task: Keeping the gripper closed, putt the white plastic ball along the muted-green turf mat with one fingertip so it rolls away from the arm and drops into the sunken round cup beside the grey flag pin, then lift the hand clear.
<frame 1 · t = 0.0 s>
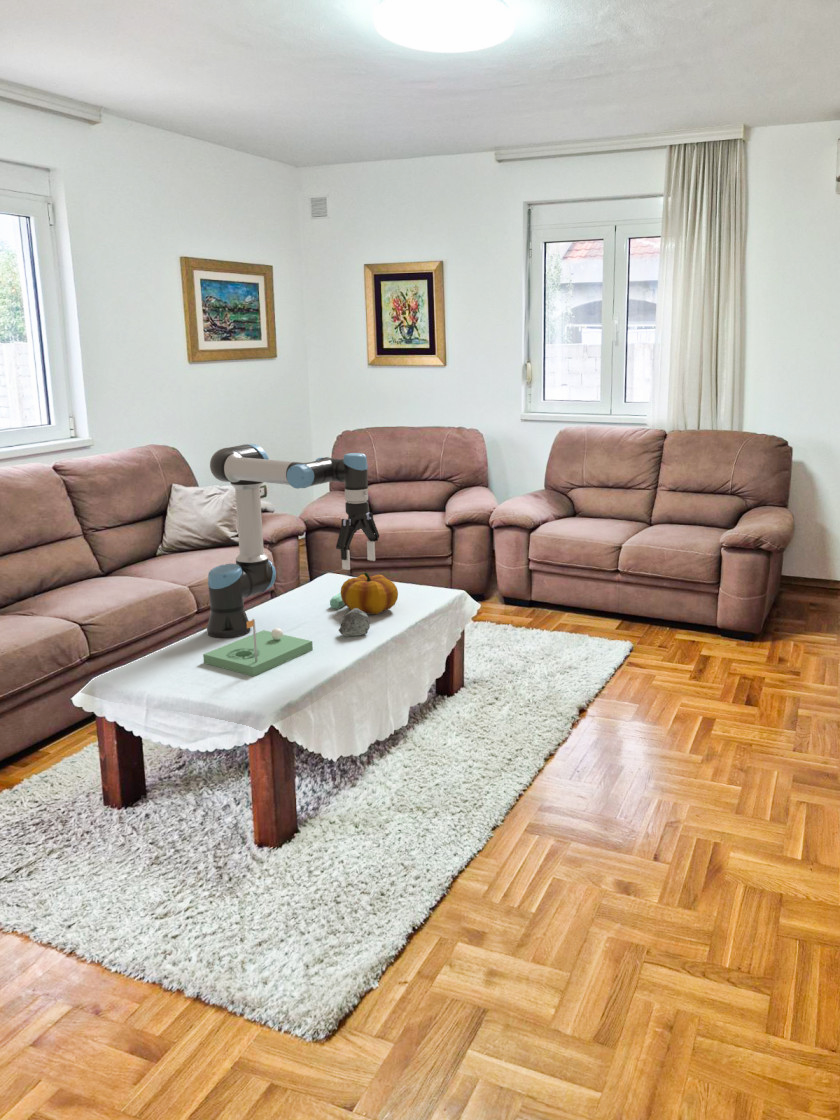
hand: (359, 564, 302), 28 cm above the table, fingers open, 13 cm apart
decorative pumpkin: (369, 610, 347), on the table
ball: (277, 634, 306), point 5 cm above the table, touching green
green: (257, 657, 299), on the table
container: (349, 601, 360), on the table
stone: (356, 633, 321), on the table
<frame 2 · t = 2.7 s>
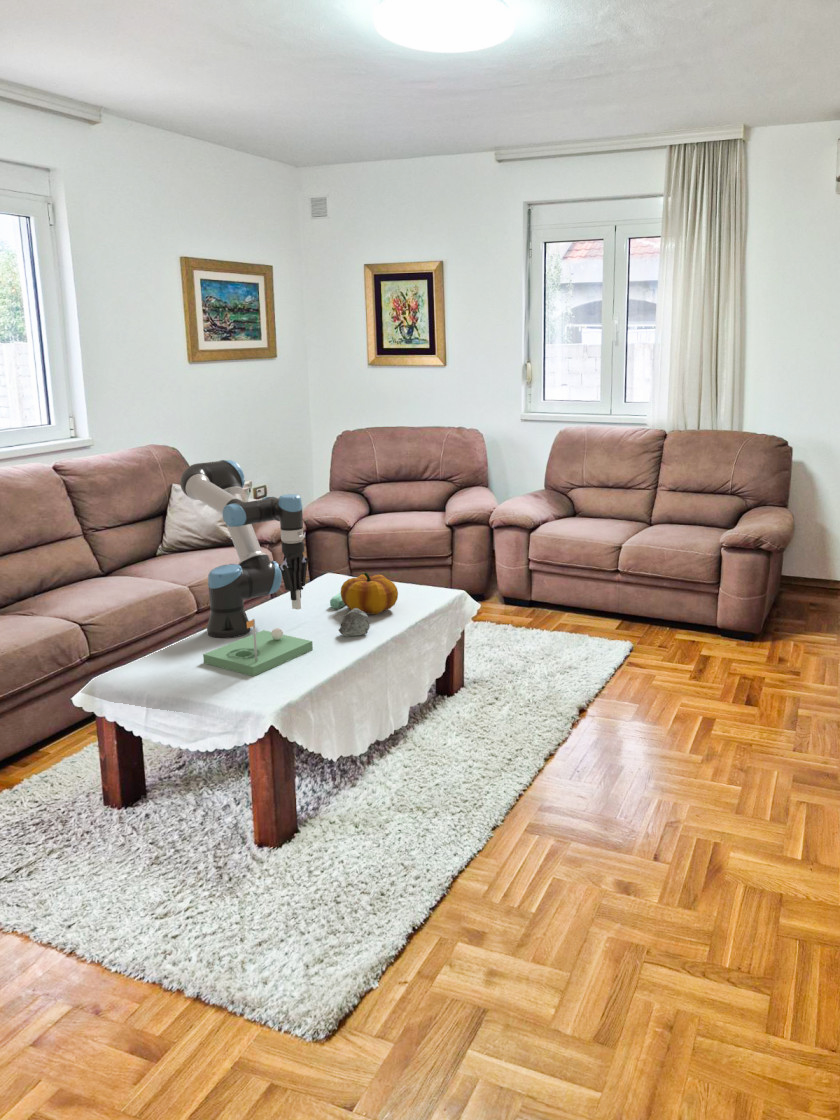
hand: (296, 608, 312), 11 cm above the table, fingers closed
nothing on the table moved.
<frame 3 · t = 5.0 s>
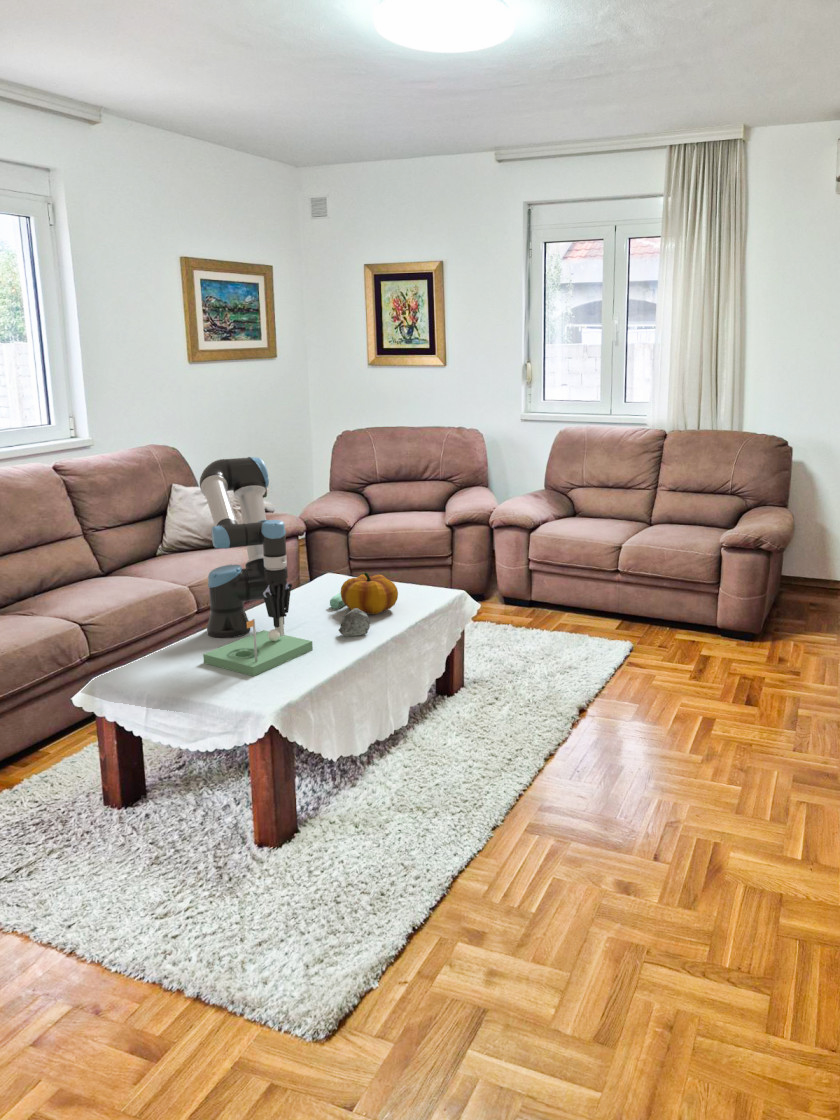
hand: (279, 635, 307), 4 cm above the table, fingers closed
ball: (274, 635, 305), point 5 cm above the table, tilted 40°, touching green, gripper
everything else where it was.
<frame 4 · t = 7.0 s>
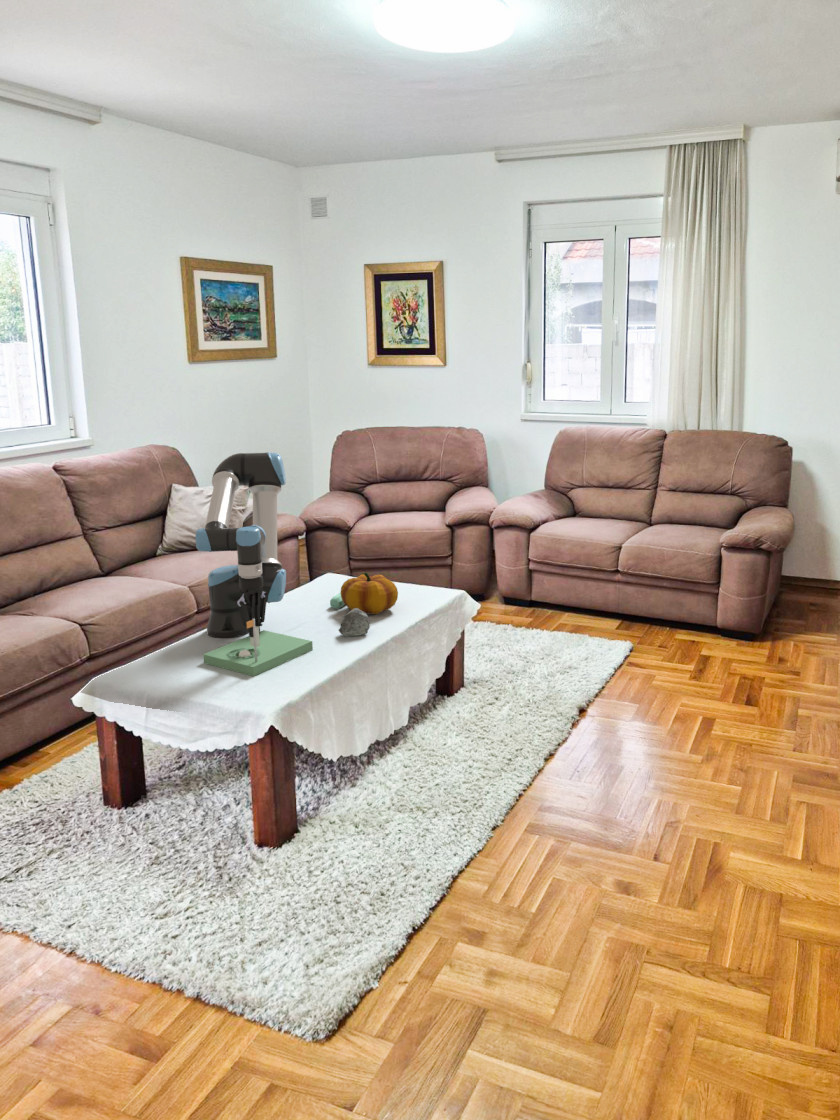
hand: (255, 645, 298), 4 cm above the table, fingers closed
ball: (244, 656, 295), point 2 cm above the table, tilted 93°
everything else where it was.
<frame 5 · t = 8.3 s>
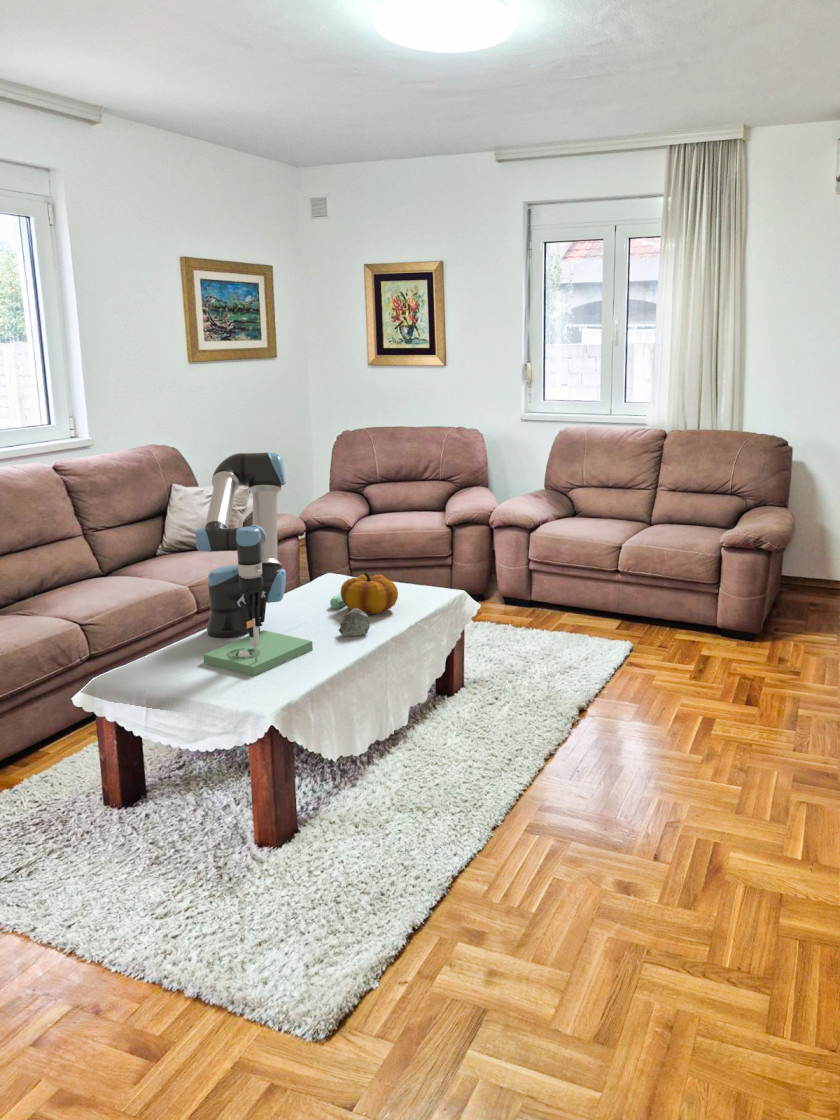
hand: (255, 645, 298), 4 cm above the table, fingers closed
ball: (244, 656, 294), point 2 cm above the table, tilted 101°
everything else where it was.
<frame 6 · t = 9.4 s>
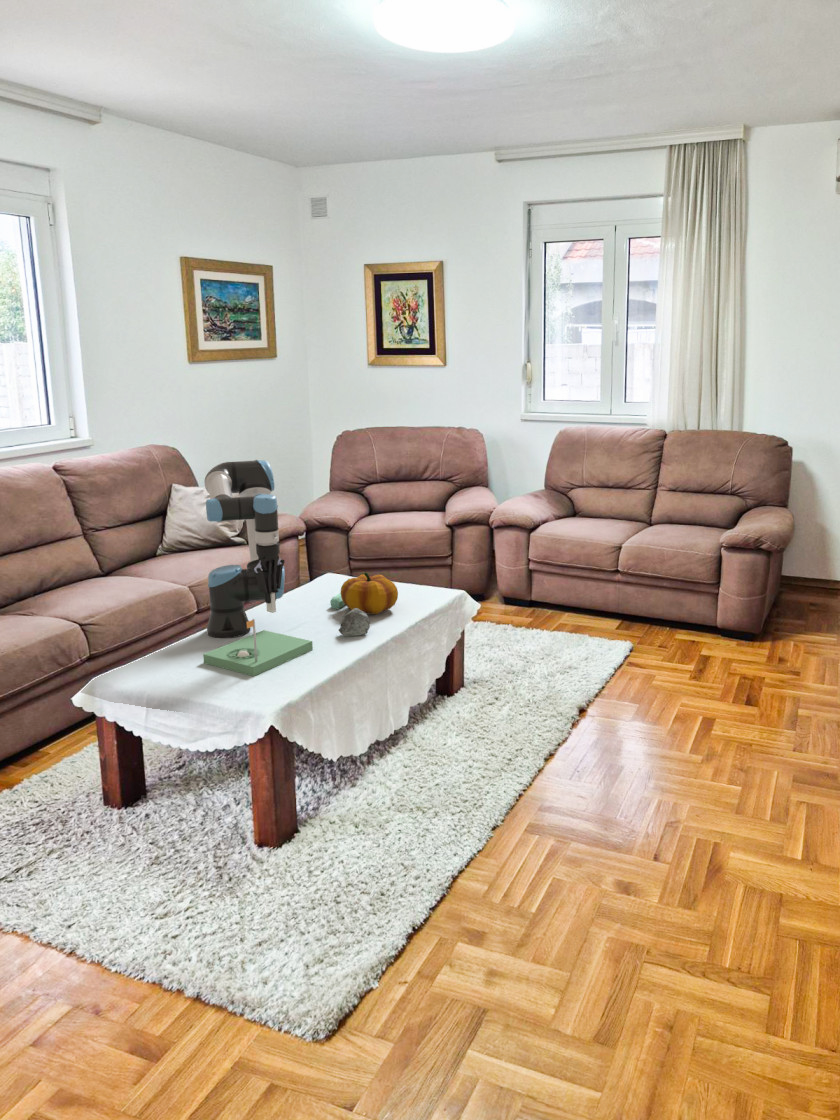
hand: (271, 611, 303), 13 cm above the table, fingers closed
ball: (243, 656, 294), point 2 cm above the table, tilted 108°
everything else where it was.
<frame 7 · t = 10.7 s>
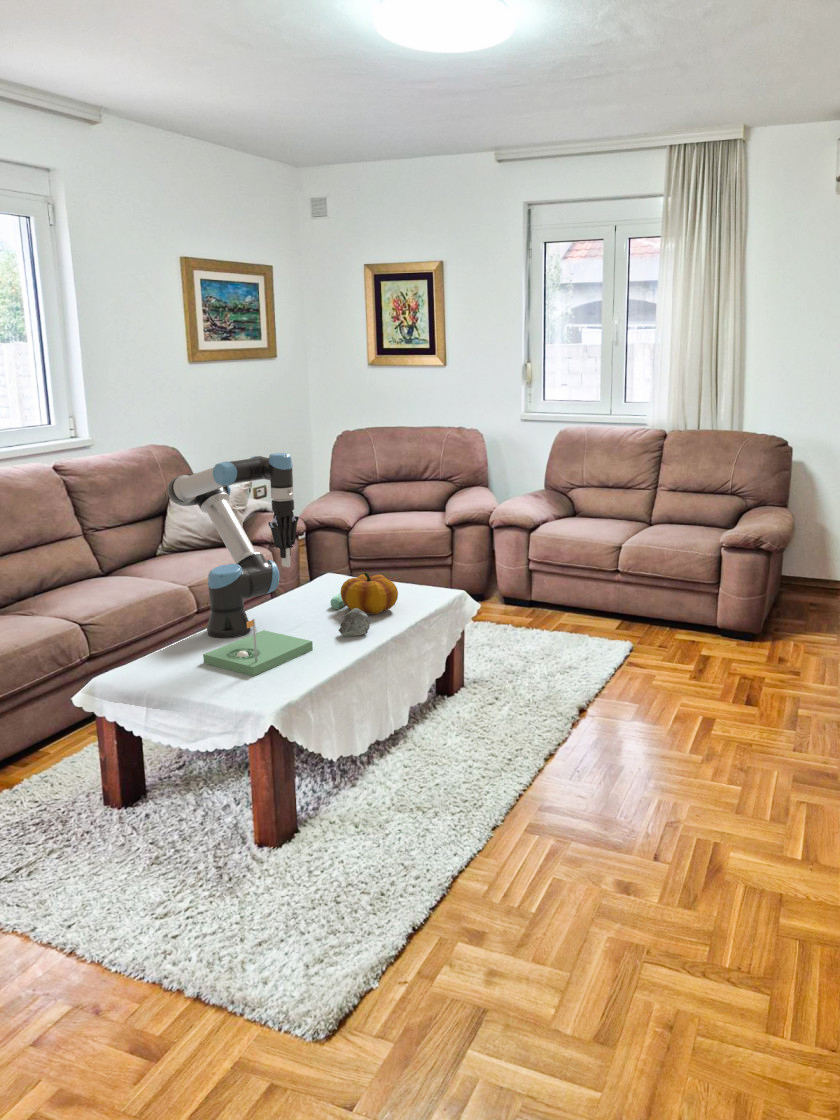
hand: (286, 566, 316), 24 cm above the table, fingers closed
ball: (242, 656, 294), point 2 cm above the table, tilted 116°
everything else where it was.
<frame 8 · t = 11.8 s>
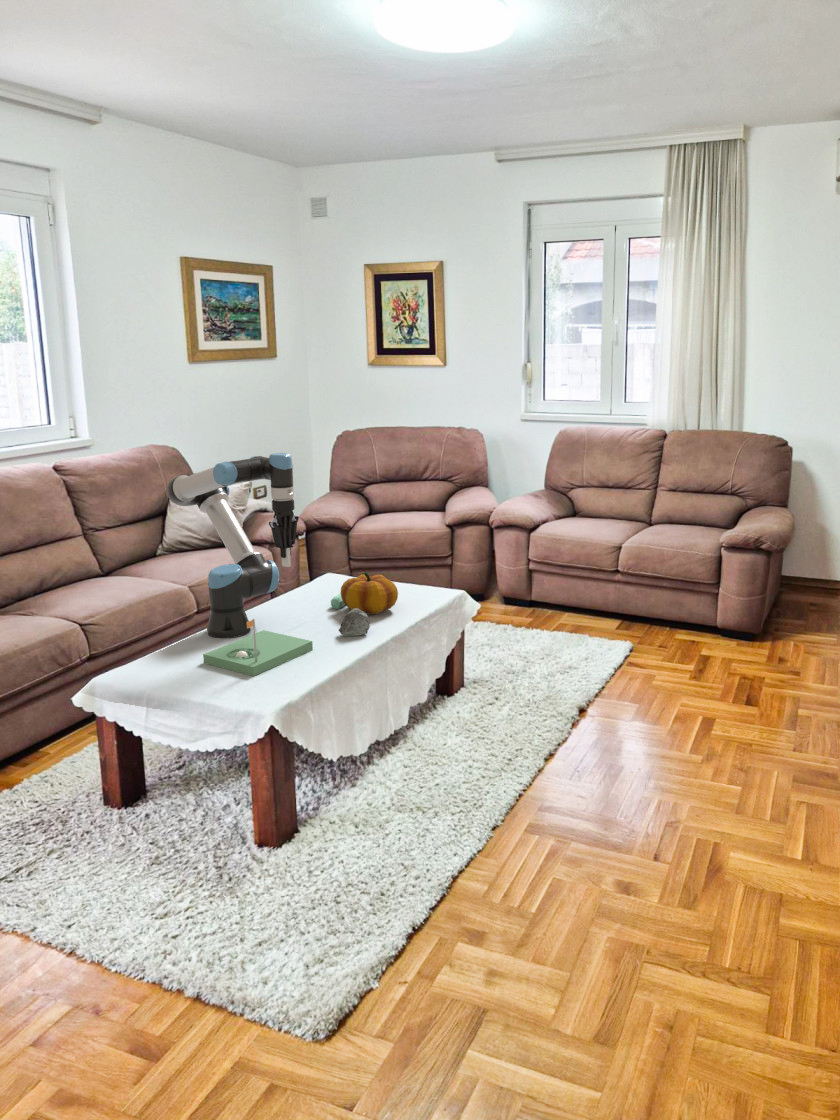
hand: (286, 566, 316), 24 cm above the table, fingers closed
ball: (241, 657, 294), point 2 cm above the table, tilted 123°
everything else where it was.
at the end: ball 0.7 cm from the target spot on the green, point 2.0 cm above the green's base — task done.
